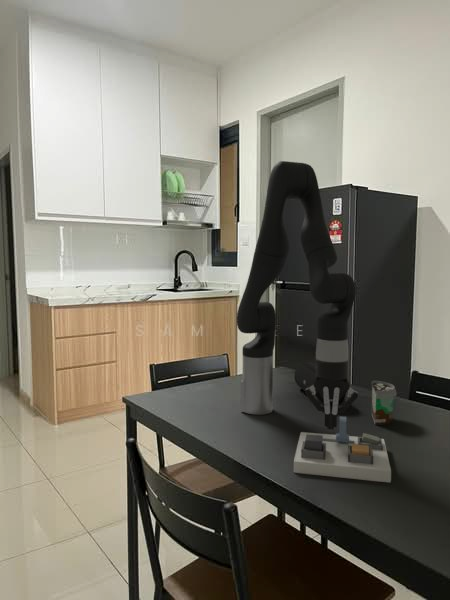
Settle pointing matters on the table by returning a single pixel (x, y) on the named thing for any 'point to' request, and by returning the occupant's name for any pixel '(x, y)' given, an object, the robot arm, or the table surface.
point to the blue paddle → (342, 431)
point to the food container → (382, 402)
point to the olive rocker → (370, 439)
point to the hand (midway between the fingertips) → (330, 428)
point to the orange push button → (360, 449)
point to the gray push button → (313, 442)
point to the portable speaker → (310, 379)
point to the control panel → (343, 459)
